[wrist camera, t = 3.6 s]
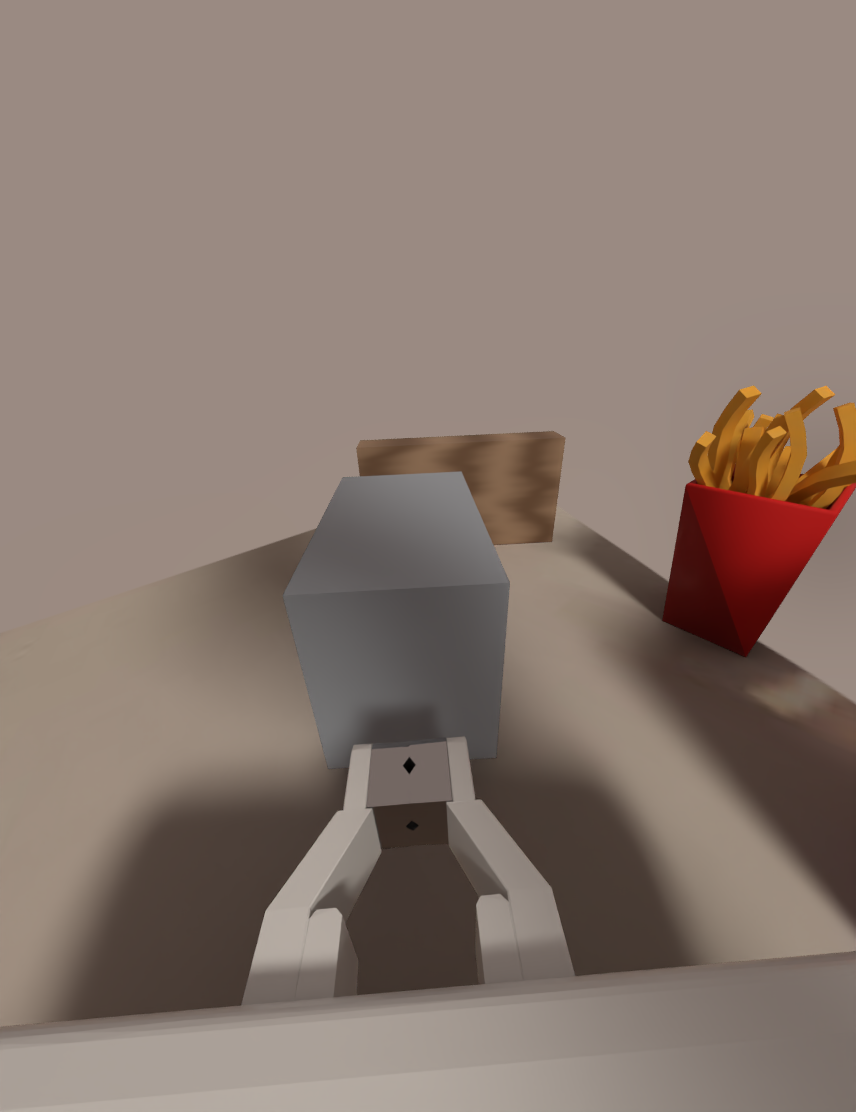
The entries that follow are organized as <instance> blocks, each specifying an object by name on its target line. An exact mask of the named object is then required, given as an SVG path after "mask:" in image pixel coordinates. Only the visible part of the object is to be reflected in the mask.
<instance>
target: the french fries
mask: <svg viewBox="0 0 856 1112" xmlns="http://www.w3.org/2000/svg"><path fill="white" fill-rule="evenodd" d="M760 395H761V393H760V391H759V390H758V389H757V388H756V387H755V386H751V387H748V388H744V389H741V390H739V391H738V392H737V394H736V395H735V396H734V397H733V399H732V400H731V401H730V402H729V404H728V405H727V406H726V408H725V409H724V411H723V413H722V414H721V416H720V417H719V419H718V421H717V422H716V424H715V425H714V428H713V432H712V434H711V433H709V432H707V431H706V432H705V433H704V434H703V435H702V436H701V437H700V439H699V440H698V441H697V442H696V444H695V446H694V447H693V449H692V451H691V454H690V458H689V461H688V462H689V465H690V468H691V471H692V473H693V475H694V477H695V480H693V481H691V482H690V483H688V484H687V485H686V487H685V493H684V498H683V504H682V510H681V516H680V521H679V527H678V533H677V539H676V544H675V551H674V557H673V562H672V568H671V574H670V579H669V585H668V591H667V596H666V602H665V608H664V614H663V619H662V621H665V622H667V623H669V624H671V625H674V626H676V627H678V628H680V629H683V630H685V631H687V632H690V633H692V634H694V635H696V636H699V637H701V638H703V639H705V640H708V641H710V642H712V643H715V644H717V645H719V646H721V647H724V648H726V649H728V650H730V651H733V652H735V653H737V654H740V655H742V656H744V657H747V655H748V653H749V652H750V650H751V649H752V647H753V646H754V644H755V643H756V641H757V640H758V638H759V637H760V635H761V634H762V632H763V631H764V629H765V628H766V626H767V625H768V623H769V622H770V620H771V618H772V617H773V615H774V613H775V612H776V610H777V609H778V608H779V606H780V604H781V603H782V601H783V600H784V598H785V597H786V595H787V593H788V592H789V591H790V589H791V587H792V586H793V584H794V583H795V581H796V580H797V578H798V577H799V575H800V573H801V572H802V570H803V569H804V567H805V566H806V564H807V563H808V561H809V560H810V558H811V556H812V555H813V553H814V552H815V550H816V549H817V547H818V546H819V544H820V543H821V541H822V539H823V538H824V536H825V535H826V533H827V531H828V530H829V529H830V527H831V526H832V524H833V522H834V521H835V519H836V518H837V516H838V515H839V513H840V512H841V510H842V508H843V507H844V505H845V504H846V502H847V501H848V499H849V497H850V496H851V494H852V493H853V491H854V490H855V488H856V408H855V404H854V403H847V404H844V405H841V406H838V407H835V408H833V409H834V413H835V417H836V420H837V424H838V427H839V439H840V445H839V446H838V448H837V449H835V450H834V451H833V452H831V453H830V454H829V455H828V456H826V457H825V458H824V459H823V460H821V461H820V462H819V463H818V464H816V465H815V466H814V467H812V468H811V469H810V470H809V471H807V472H806V473H805V474H800V473H801V470H802V467H803V465H804V462H805V459H806V456H807V446H806V431H805V427H804V422H803V420H804V419H805V418H806V417H807V416H808V415H809V414H810V413H811V412H812V411H814V410H815V409H817V408H818V407H819V406H820V405H822V404H823V403H825V402H826V401H827V400H829V399H830V398H831V397H833V396H834V395H835V394H834V393H833V392H832V391H831V390H830V389H829V388H828V387H827V386H824V387H821V388H818V389H815V390H813V391H812V392H811V393H810V394H808V395H807V396H806V397H805V398H804V399H802V400H801V401H800V402H799V403H797V404H796V405H795V406H794V407H793V408H791V409H790V410H789V411H787V412H784V415H781V414H777V415H776V416H775V418H774V419H773V417H770V416H767V415H764V414H762V415H761V416H760V418H759V419H758V421H757V422H756V424H755V425H754V426H753V427H752V428H749V426H750V425H751V422H752V420H753V418H754V413H753V410H747V409H748V408H749V407H750V406H751V405H752V404H753V403H754V402H755V400H756V399H757V398H758V397H759V396H760ZM772 420H773V421H772ZM767 427H768V428H767ZM789 438H790V445H791V446H786V447H785V448H784V446H785V445H786V443H787V441H788V439H789ZM783 449H784V450H783ZM782 451H783V452H782ZM707 454H708V456H707Z"/></svg>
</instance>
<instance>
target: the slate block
mask: <svg viewBox="0 0 856 1112" xmlns="http://www.w3.org/2000/svg"><path fill="white" fill-rule="evenodd" d="M509 587H510V582H509V580H508V577H507V575H506V573H505V571H504V568H503V566H502V564H501V561H500V559H499V557H498V554H497V552H496V550H495V548H494V545H493V543H492V541H491V538H490V536H489V534H488V532H487V529H486V527H485V525H484V522H483V520H482V518H481V515H480V513H479V511H478V509H477V506H476V504H475V502H474V499H473V497H472V495H471V492H470V490H469V488H468V486H467V483H466V481H465V479H464V476H463V474H462V472H441V473H421V474H401V475H381V476H361V477H343V478H342V480H341V482H340V484H339V486H338V488H337V490H336V491H335V493H334V495H333V497H332V499H331V502H330V503H329V505H328V507H327V509H326V511H325V513H324V515H323V517H322V519H321V521H320V523H319V525H318V527H317V529H316V531H315V533H314V535H313V537H312V539H311V541H310V543H309V545H308V546H307V548H306V550H305V552H304V554H303V556H302V558H301V560H300V562H299V564H298V566H297V568H296V570H295V572H294V574H293V576H292V578H291V580H290V582H289V584H288V586H287V588H286V590H285V592H284V594H283V599H284V603H285V607H286V611H287V614H288V618H289V622H290V626H291V630H292V633H293V637H294V641H295V645H296V648H297V652H298V656H299V660H300V664H301V667H302V671H303V675H304V679H305V683H306V686H307V690H308V694H309V698H310V702H311V705H312V709H313V713H314V717H315V721H316V724H317V728H318V732H319V736H320V739H321V743H322V747H323V751H324V755H325V758H326V762H327V766H328V769H335V768H349V765H350V758H351V751H352V748H353V746H354V745H358V744H371V743H373V744H374V743H390V742H407V741H412V740H422V739H433V738H444V737H446V738H451V737H461V736H465V738H466V740H467V747H468V753H469V759H484V758H496V755H497V742H498V729H499V716H500V703H501V690H502V677H503V664H504V651H505V638H506V626H507V613H508V600H509Z"/></svg>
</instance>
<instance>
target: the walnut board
mask: <svg viewBox="0 0 856 1112" xmlns="http://www.w3.org/2000/svg"><path fill="white" fill-rule="evenodd" d="M564 445H565V437H563V436H561V435H560V434H558V433H556V432H554V431H549V432H529V433H528V432H527V433H509V434H508V433H507V434H488V435H487V434H486V435H465V436H444V437H426V438H425V437H424V438H403V439H382V440H361V441H360V442H359V444H358V446H357V448H356V449H357V457H358V464H359V473H360V477H361V476H381V475H401V474H421V473H441V472H462V474H463V476H464V479H465V481H466V483H467V486H468V488H469V490H470V492H471V495H472V497H473V499H474V502H475V504H476V506H477V509H478V511H479V513H480V515H481V518H482V520H483V522H484V525H485V527H486V529H487V532H488V534H489V536H490V538H491V541H492V543H493V545H498V544H516V543H535V542H552V537H553V529H554V521H555V514H556V506H557V498H558V491H559V483H560V475H561V467H562V460H563V453H564Z"/></svg>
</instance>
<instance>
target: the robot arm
mask: <svg viewBox="0 0 856 1112" xmlns="http://www.w3.org/2000/svg"><path fill="white" fill-rule="evenodd" d="M438 844H449V847H450V849H451V851H452V852H453V854H454V856H455V857H456V859H457V861H458V862H459V864H460V866H461V868H462V869H463V871H464V873H465V874H466V876H467V878H468V880H469V881H470V883H471V885H472V886H473V888H474V890H475V891H476V893H477V895H478V897H479V900H478V902H477V903H476V939H475V953H476V962H477V972H478V981H479V985H468V986H456V987H445V988H434V989H422V990H411V991H400V992H388V993H377V994H366V995H356V993H357V979H358V964H359V961H358V958H357V955H356V952H355V950H354V947H353V944H352V941H351V938H350V936H349V933H348V930H347V927H346V924H345V923H346V921H347V919H348V917H349V915H350V913H351V912H352V910H353V908H354V906H355V904H356V902H357V900H358V898H359V896H360V894H361V892H362V890H363V888H364V886H365V884H366V882H367V880H368V878H369V876H370V874H371V872H372V870H373V868H374V866H375V864H376V862H377V860H378V858H379V856H380V854H381V849H390V848H399V847H408V846H419V845H438ZM0 1112H856V951H853V952H841V953H830V954H819V955H807V956H796V957H785V958H773V959H762V960H751V961H739V962H728V963H717V964H705V965H694V966H683V967H671V968H660V969H649V970H637V971H626V972H615V973H603V974H592V975H581V976H575V973H574V969H573V965H572V962H571V958H570V954H569V951H568V947H567V943H566V939H565V936H564V932H563V928H562V925H561V921H560V917H559V913H558V910H557V906H556V902H555V899H554V895H553V891H552V888H551V887H550V885H549V884H548V883H547V882H546V880H545V879H544V878H543V877H542V875H541V874H540V873H539V871H538V870H537V869H536V868H535V866H534V865H533V864H532V863H531V861H530V860H529V859H528V858H527V856H526V855H525V854H524V853H523V851H522V850H521V849H520V847H519V846H518V845H517V844H516V842H515V841H514V840H513V839H512V837H511V836H510V835H509V834H508V832H507V831H506V830H505V829H504V827H503V826H502V825H501V823H500V822H499V821H498V820H497V818H496V817H495V816H494V815H493V813H492V812H491V811H490V810H489V808H488V807H487V806H486V805H485V803H484V802H483V801H482V799H477V800H476V799H475V792H474V786H473V779H472V773H471V766H470V760H469V753H468V747H467V740H466V738H465V736H461V737H451V738H446V737H444V738H433V739H422V740H412V741H407V742H390V743H374V744H373V743H371V744H358V745H354V746H353V748H352V751H351V758H350V765H349V772H348V779H347V786H346V793H345V800H344V807H343V810H340V811H337V812H336V813H335V815H334V816H333V817H332V819H331V820H330V822H329V823H328V824H327V826H326V827H325V829H324V830H323V831H322V833H321V834H320V836H319V837H318V838H317V840H316V841H315V843H314V844H313V845H312V847H311V848H310V850H309V851H308V852H307V854H306V855H305V857H304V858H303V859H302V861H301V862H300V864H299V865H298V866H297V868H296V869H295V871H294V872H293V873H292V875H291V876H290V878H289V879H288V880H287V882H286V883H285V885H284V886H283V887H282V889H281V890H280V892H279V893H278V894H277V896H276V897H275V899H274V900H273V901H272V903H271V904H270V906H269V907H268V908H267V910H266V911H265V915H264V919H263V923H262V926H261V930H260V934H259V938H258V942H257V946H256V950H255V953H254V957H253V961H252V965H251V969H250V973H249V977H248V981H247V984H246V988H245V992H244V996H243V1000H242V1004H241V1006H229V1007H218V1008H207V1009H195V1010H184V1011H173V1012H161V1013H150V1014H139V1015H127V1016H116V1017H105V1018H93V1019H82V1020H71V1021H59V1022H48V1023H36V1024H25V1025H14V1026H2V1027H0Z"/></svg>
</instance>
